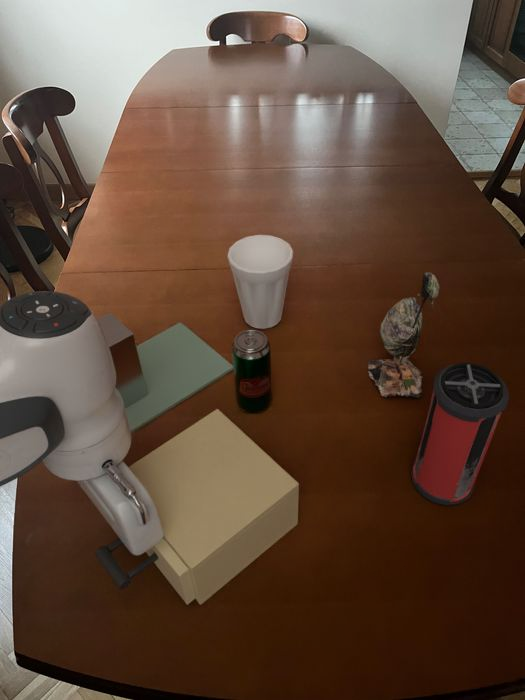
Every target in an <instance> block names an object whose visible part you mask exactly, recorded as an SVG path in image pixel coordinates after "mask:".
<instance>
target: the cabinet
mask: <svg viewBox="0 0 525 700" xmlns="http://www.w3.org/2000/svg"><path fill="white" fill-rule="evenodd" d="M127 467H128V468H129V469H130V470H131V471H132V472H133V474H134V475H135V476H136V477H137V478H138V480H139V481H140V482H141V483H142V484H143V486H144V487H145V488H146V490H147V491H148V493H149V494H150V496H151V498H152V500H153V502H154V504H155V507H156V510H157V512H158V515H159V518H160V521H161V524H162V528H163V531H164V536H163V538H164V539H165V540H166V541H167V543H168V544H169V545H170V546H171V548H172V549H173V550H175V552H176V554H177V555H178V556H179V557H180V558H181V560H182V561H184V563H185V565H186V566H187V567H188V568H189V571H190V575H191V579H192V583H193V588H194V592H195V596H196V598H195V599H194V600H196V602H197V603H198V604H199V605H200V606H201V605H202V604H204V603H205V602H207V600H209V599H210V598H211V597H212V596H213V595H214V594H216V593H217V592H218V591H220V590H221V589H222V588H223V587H224V586H226V585H227V584H228V583H229V582H230V581H231V580H232V579H234V578H235V577H236V576H238V575H239V574H240V573H241V572H242V571H244V570H245V569H246V568H247V567H248V566H249V565H250V564H252V563H253V562H254V561H255V560H256V559H258V558H259V557H260V556H261V555H262V554H264V553H266V551H267V550H268V549H270V548H271V547H272V546H273V545H275V544H276V543H277V542H278V541H279V540H280V539H281V538H283V537H284V536H286V535H287V534H288V533H289V532H290V531H291V530H292V529H294V528H295V527H296V526H297V525H298V524H299V496H300V495H299V491H300V488H299V487H300V484H299V483H300V482H298V481H297V480H295V478H294V477H292V476H291V474H289V473H288V472H287V471H286V470H285V469H284V468H282V467H281V465H279V464H278V462H276V461H275V460H274V459H273V458H272V457H271V456H270V455H268V453H266V452H265V451H264V450H263V449H262V448H261V447H259V445H258V444H257V443H255V442H254V441H253V440H252V439H251V438H250V437H249V436H248V435H246V433H244V431H242V429H241V428H239V427H238V426H237V425H236V424H235V423H234V422H233V421H231V419H230V418H228V416H226V415H225V414H224V413H223V412H222V411H221V410H219V409H218V408H216V409H215V410H213V411H212V412H210V413H209V414H207V415H205V416H204V417H202V418H201V419H199V420H198V421H196V422H195V423H193V424H192V425H190V426H188V427H187V428H186V429H184V430H183V431H181V432H180V433H178V434H177V435H175V436H174V437H172V438H170V439H169V440H167V441H166V442H165V443H163V444H162V445H160V446H158V447H157V448H156V449H154V450H152V451H150V452H149V453H148V454H146V455H145V456H143V457H142V458H140V459H139V460H137V461H135V462H133V463H132V464H131V465H129V466H127Z"/></svg>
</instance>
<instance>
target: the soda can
mask: <svg viewBox="0 0 525 700" xmlns="http://www.w3.org/2000/svg"><path fill="white" fill-rule="evenodd" d="M231 352H232V353H231V356H232V365H233V367H234V369H233V379H234V388H235V399H236V400H235V401H236V405H237V406H238V407H239V409H240V410H242V411H245V412H247V413H252V414H254V413H260V412H263V411H265V410H266V409H268V407H269V406H270V405H271V403H272V400H273V399H272V398H273V396H272V394H273V393H272V359H271V358H272V357H271V354H272V353H271V343H270V341H269V340H268V337H267V336H266V334H265V333H264V332H262V331H259V330H256V329H247V330H242V331H240V332H239V333H238V334H237V335H235V338H234V340H233V342H232V345H231Z"/></svg>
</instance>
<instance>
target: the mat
mask: <svg viewBox="0 0 525 700" xmlns="http://www.w3.org/2000/svg"><path fill="white" fill-rule="evenodd" d="M136 347H137V351H138V355H139V359H140V364H141V368H142V372H143V376H144V380H145V384H146V388H147V392H148V395H147V396H145V397H143V398H142V399H140V400H138V401H137V402H135V403H133V404H132V405H130V406H128V407H127V408H125V411H126V415H127V418H128V423H129V427H130V431H131V434H133V433H135V432H136V431H138V430H139V429H141V428H143V427H144V426H146V425H148V424H149V423H150V422H152V421H154V420H155V419H157V418H159V417H160V416H162V415H163V414H165V413H167V412H168V411H170V410H171V409H173V408H174V407H176V406H178V405H179V404H181V403H182V402H184V401H186V400H188V399H189V398H190V397H192V396H194V395H195V394H197V393H199V392H200V391H202V390H203V389H205V388H206V387H208V386H210V385H211V384H213V383H215V382H216V381H218V380H219V379H221V378H222V377H224V376H226V375H227V374H229V373H231V372H232V371H234V367H233V364H232V363H230V362H229V361H228V360H227V359H225V358H224V356H222V355H221V354H220V353H218V352H217V351H216V350H215V349H214V348H212V347H211V346H210V345H209V344H208V343H207V342H205V341H204V340H203V339H202V338H201V337H199V336H198V335H197V334H195V333H194V332H193V331H192V330H191V329H189V327H187V326H186V325H185V324H184V323H182V322H180V321H179V322H178V323H175V324H174V325H172V326H171V327H168V328H167V329H165V330H163V331H162V332H160V333H158V334H156V335H154V336H152V337H150V338H149V339H147V340H145V341H143V342H141V343H140V344H138V345H136Z"/></svg>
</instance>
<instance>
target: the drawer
mask: <svg viewBox="0 0 525 700" xmlns="http://www.w3.org/2000/svg"><path fill="white" fill-rule="evenodd" d="M123 545H124V543H123V542H122V541H121V539H120V538H119V537H118V538H117V539H116V540H114V541H113V542H112V543H110V544H109V545H107V546H106V545H102V546H100V547H98V549H96V551H95V553H94V555H95V557H96V559H97V560H98V561H99V562H100V564H101V566H102V567H103V568H104V570H105V571H106V572H107V574H108V575H109V577H110V578H111V580H112V581H113V582H114V584H115V585H116V586H117V588H118V589H119V590H125V589H127V588H128V587H129V586H130V584H131V583H132V579H134V578H135V577H137V576H138V575H139V574H140V573H141V572H143V571H144V570H146V569H147V568H148V567H150V566H151V565H153V564H154V565H155V566H156V567H157V568H158V570H159V571H160V572H161V573H162V575H163V576H164V577H165V579H166V580H167V581H168V583H169V584H170V585H171V586H172V588H173V589H174V590H175V591H176V593H177V594H178V596H179V597H180V598H181V599H182V600H183V602H184V603H185V604H186V605H187V606H188V605H190V604H191V602H193V601H194V600H196V599H195V598H196V596H195V592H194V588H193V583H192V579H191V575H190V571H189V568H188V567H187V566H186V565H185V563H184V561H182V560H181V558H180V557H179V556H178V555H177V554H176V552H175V550H173V549H172V548H171V546H170V545H169V544H168V543H167V541H166V540H165V539H164V538H162V539H161V540H160V541H159V542H158V543H157V544H156V545H154V546H153V547H152V548H150V549H149V550H147V551H146V552H145V553H146V554H147V556H148V557H147V558H146V559H143V561H141V562H140V563H139V564H137V565H136V566H135V567H133V568H132V569H130V570H129V571H128V572H127V573H126V571H125V570H124V568H123V567H122V566H121V564H120V562H119V561H118V560H117V559H116V557H115V555H113V552H114V551H116V550H117V549H118V548H120V547H122V546H123Z"/></svg>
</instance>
